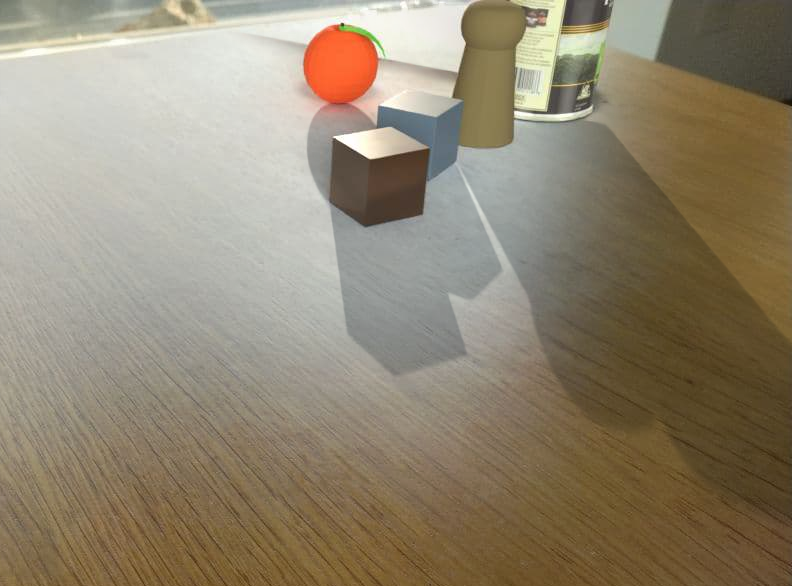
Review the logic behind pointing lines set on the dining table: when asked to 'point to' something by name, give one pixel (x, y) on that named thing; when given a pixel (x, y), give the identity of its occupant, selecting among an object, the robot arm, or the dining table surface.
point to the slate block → (426, 124)
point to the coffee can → (560, 58)
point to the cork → (489, 72)
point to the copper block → (378, 175)
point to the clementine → (341, 63)
